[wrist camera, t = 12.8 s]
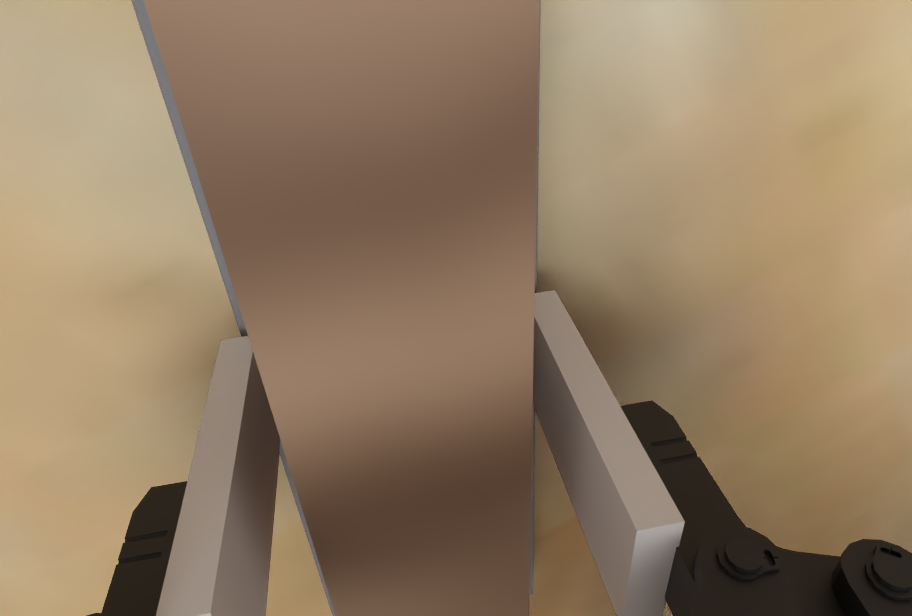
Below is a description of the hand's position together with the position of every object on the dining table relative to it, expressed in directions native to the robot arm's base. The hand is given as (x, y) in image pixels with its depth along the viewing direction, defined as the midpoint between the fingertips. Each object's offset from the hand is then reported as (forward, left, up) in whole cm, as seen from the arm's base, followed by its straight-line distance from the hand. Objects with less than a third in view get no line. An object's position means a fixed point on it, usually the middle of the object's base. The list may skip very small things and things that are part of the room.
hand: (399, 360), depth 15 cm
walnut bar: (0, 0, 0) cm, 1 cm away
